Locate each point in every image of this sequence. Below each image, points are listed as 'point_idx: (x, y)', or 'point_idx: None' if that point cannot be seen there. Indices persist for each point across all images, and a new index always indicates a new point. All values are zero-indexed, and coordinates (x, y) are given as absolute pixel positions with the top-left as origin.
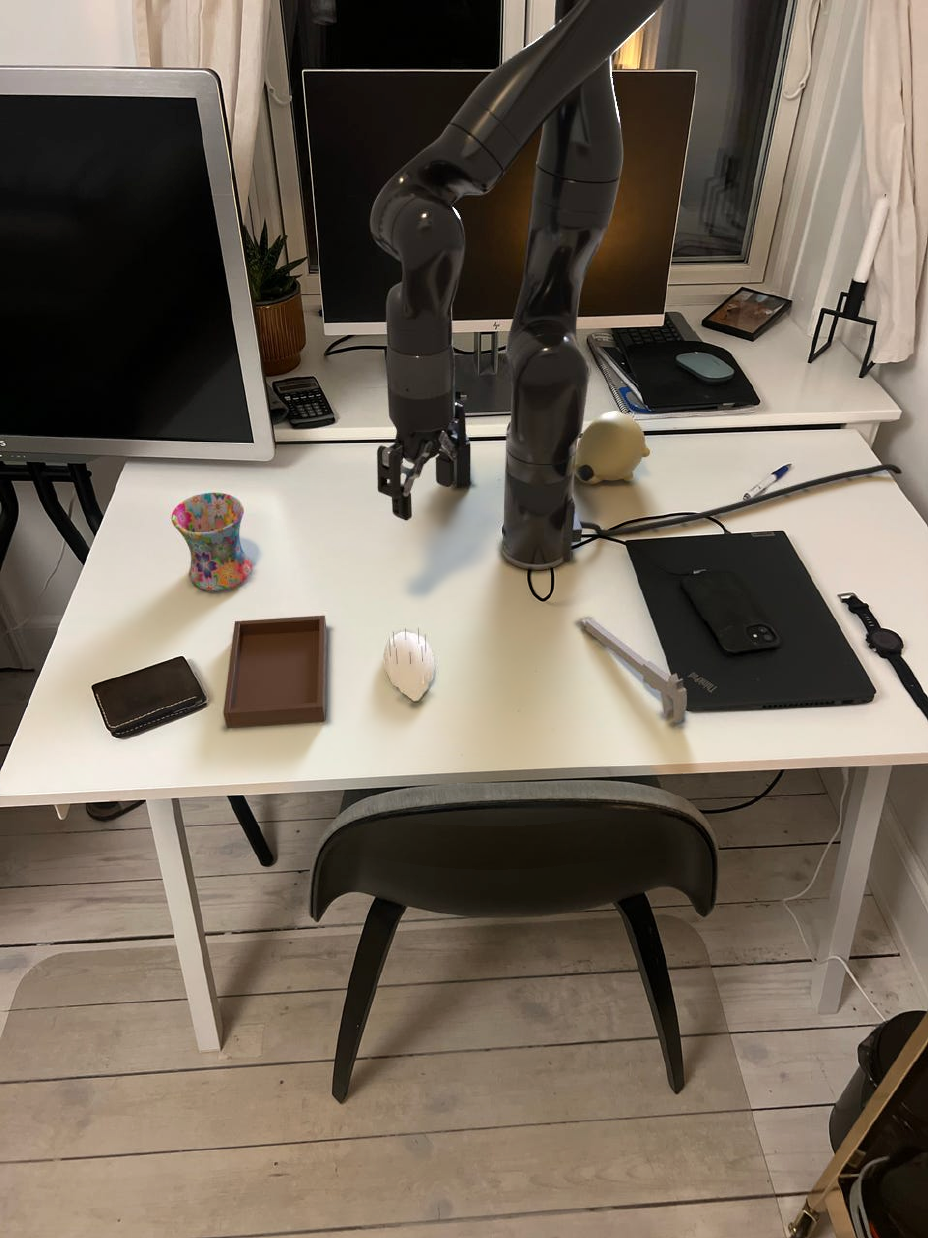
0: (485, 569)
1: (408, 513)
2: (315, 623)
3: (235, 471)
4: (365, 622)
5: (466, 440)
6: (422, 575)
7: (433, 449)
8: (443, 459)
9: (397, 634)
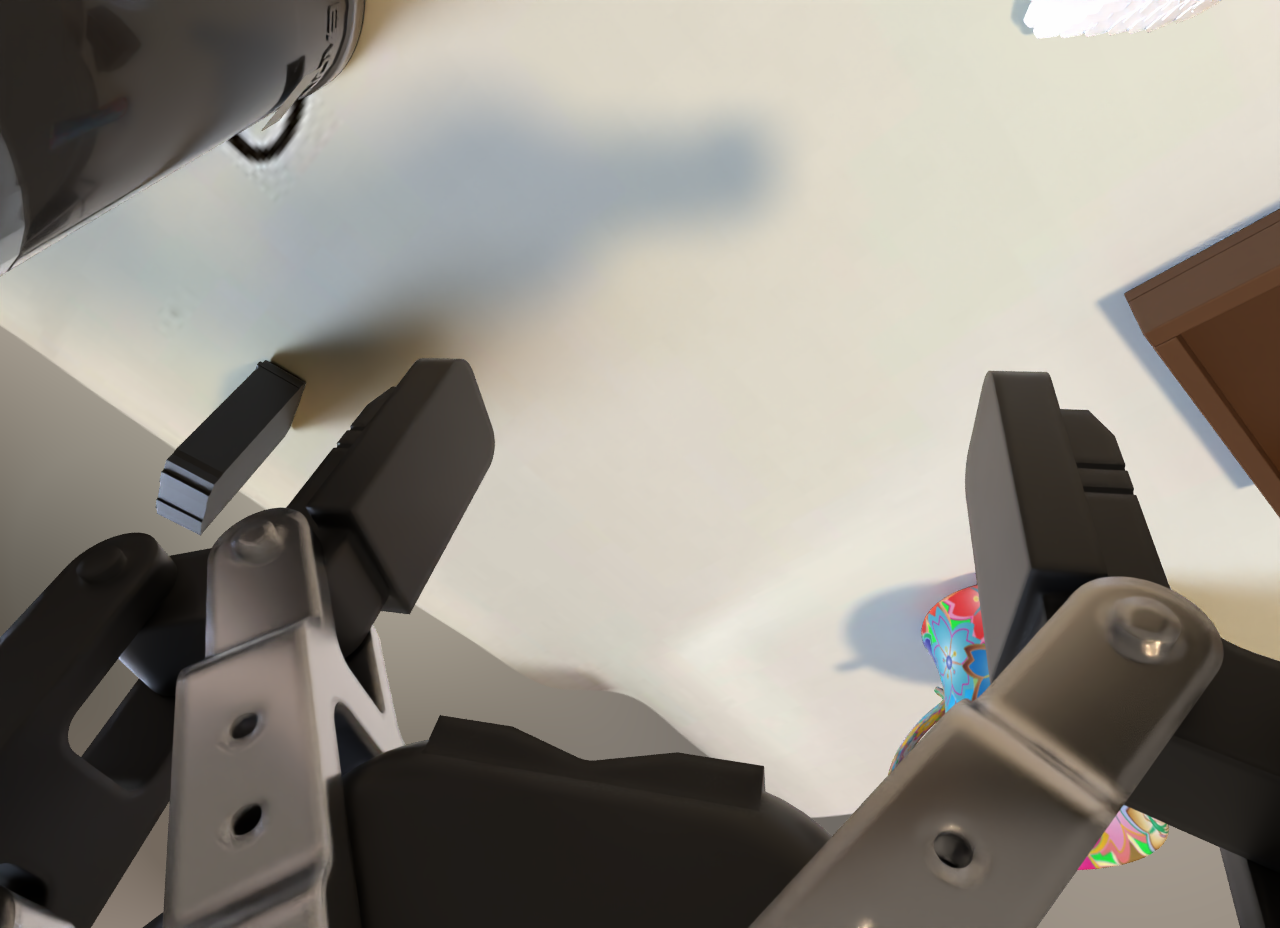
0: (469, 36)
1: (1058, 411)
2: (1178, 336)
3: (673, 726)
4: (1015, 211)
5: (171, 475)
6: (666, 213)
7: (483, 860)
8: (372, 567)
9: (1093, 22)
